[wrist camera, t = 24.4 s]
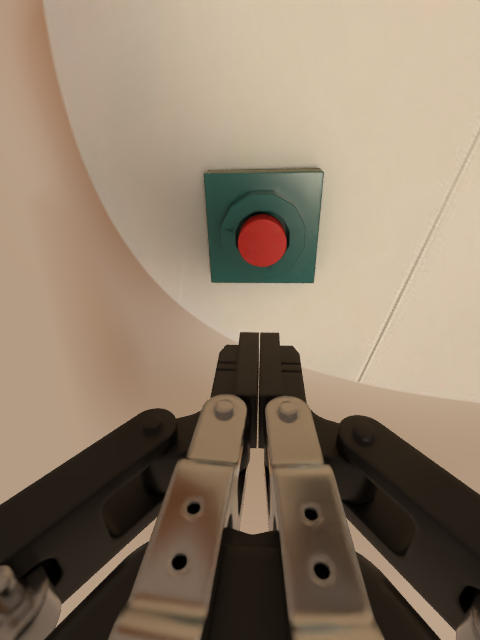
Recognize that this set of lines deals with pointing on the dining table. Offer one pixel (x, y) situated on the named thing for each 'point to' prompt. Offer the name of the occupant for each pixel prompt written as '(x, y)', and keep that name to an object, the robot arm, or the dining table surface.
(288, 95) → the dining table surface
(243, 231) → the button
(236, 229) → the button block
